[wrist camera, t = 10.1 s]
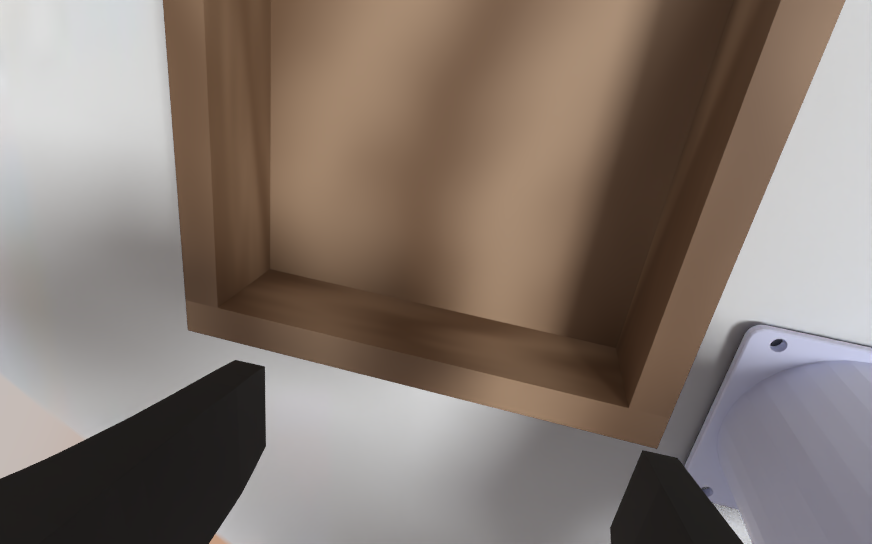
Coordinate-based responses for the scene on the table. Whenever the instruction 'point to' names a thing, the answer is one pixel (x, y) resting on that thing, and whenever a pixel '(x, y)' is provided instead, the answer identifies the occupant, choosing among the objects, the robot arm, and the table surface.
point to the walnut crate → (482, 186)
